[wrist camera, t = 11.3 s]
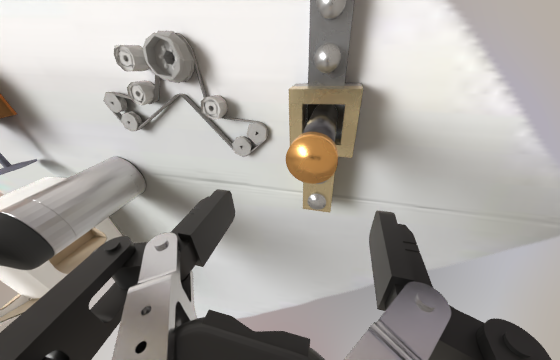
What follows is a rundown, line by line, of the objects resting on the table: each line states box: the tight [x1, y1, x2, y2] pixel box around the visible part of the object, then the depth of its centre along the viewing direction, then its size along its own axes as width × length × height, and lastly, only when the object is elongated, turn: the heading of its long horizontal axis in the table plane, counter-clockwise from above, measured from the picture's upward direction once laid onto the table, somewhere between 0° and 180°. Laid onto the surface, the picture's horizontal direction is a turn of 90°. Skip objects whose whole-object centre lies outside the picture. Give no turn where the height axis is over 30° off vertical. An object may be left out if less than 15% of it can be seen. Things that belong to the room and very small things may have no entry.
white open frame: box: [0, 177, 123, 327], centre depth 46 cm, size 22×13×28 cm, turn 8°
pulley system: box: [104, 31, 268, 157], centre depth 29 cm, size 27×5×15 cm
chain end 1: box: [294, 0, 362, 139], centre depth 23 cm, size 8×17×3 cm, turn 3°
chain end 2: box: [289, 86, 363, 212], centre depth 27 cm, size 8×17×4 cm, turn 3°
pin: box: [286, 104, 338, 184], centre depth 21 cm, size 4×4×13 cm
